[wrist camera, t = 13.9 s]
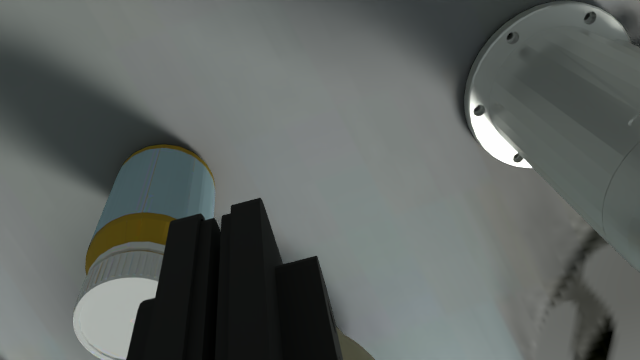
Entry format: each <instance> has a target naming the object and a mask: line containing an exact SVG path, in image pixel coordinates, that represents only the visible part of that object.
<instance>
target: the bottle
mask: <svg viewBox="0 0 640 360" xmlns="http://www.w3.org/2000/svg"><path fill="white" fill-rule="evenodd" d="M214 205H215V183H214V178H213V175H212V173H211V171H210V169H209V168H208V166H207V164H206V163H205V162H204V161H203V160H202V159H201V158H199V157H198V156H197V155H196V154H194V153H193V152H191V151H189V150H186V149H184V148H182V147H179V146H173V145H166V144H161V145H154V146H148V147H145V148H143V149H141V150H139V151H137V152H135V153H133V154H132V155H131V156H130V157H129V158H128V159H127V160H126V161H125V162H124V164H123V165H122V167H121V169H120V171H119V173H118V175H117V177H116V180H115V182H114V185H113V187H112V190H111V192H110V195H109V197H108V200H107V202H106V205H105V207H104V210H103V212H102V215H101V218H100V220H99V223H98V225H97V228H96V230H95V233H94V235H93V238H92V240H91V243H90V245H89V248H88V252H87V255H86V265H85V269H86V275H87V278H86V279H85V281H84V283H83V286H82V289H81V291H80V294H79V297H78V299H77V302H76V304H75V308H74V311H73V312H74V314H73V326H74V330H75V333H76V336H77V338H78V339H79V341H80V342H81V344H82V345H83V346H84V347H85V348H86V349H87V350H88V351H89V352H90V353H92V354H93V355H95V356H96V357H98V358H100V359H102V360H126V358H127V354H128V350H129V345H130V341H131V336H132V332H133V328H134V323H135V319H136V315H137V310H138V308H139V305H140V303H141V302H142V301H144V300H148V299H151V298H155V296H156V291H157V286H158V281H159V275H160V270H161V265H162V260H163V255H164V250H165V245H166V240H167V234H168V229H169V224H170V222H171V221H172V220H176V219H180V218H184V217H188V216H192V215H196V214H200V213H201V214H202V215H203V216H204V218H205V220H207V219H211V218H214Z"/></svg>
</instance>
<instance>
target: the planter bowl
mask: <svg viewBox="0 0 640 360" xmlns="http://www.w3.org/2000/svg"><path fill="white" fill-rule="evenodd" d="M336 329H337V333H338V338H339V343H340V347H341V352H342V356H343V360H375V359H374V358H373V357H372V356H371V355H370V354H369V353H368V352H367V351H366V350H365V349H364V348H363V347H361V346H360V345H359V344H358V343H356V342H355V341H354V340H352V339H350V338H349V337H347V336H345V335H344V334H343V333H342V332H341V331H340V330H339V329H338V328H337V327H336Z"/></svg>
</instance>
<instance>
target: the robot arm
mask: <svg viewBox="0 0 640 360" xmlns="http://www.w3.org/2000/svg"><path fill="white" fill-rule="evenodd" d="M585 15H586V16H585ZM509 33H511V34H510V36H509V37H508V38H507V36H508V34H509ZM476 106H478V107H477V108H476V109H474V108H475V107H476ZM464 107H465V116H466V119H467V123H468V127H469V129H470V130H471V132H472V134H473V136H474V138H475V139H476V140H477V142H478V143H479V144H480V145H481V147H482V148H483V149H484V150H485V151H487V152H488V153H489V154H490V155H491V156H492V157H494V158H495V159H497V160H499V161H501V162H503V163H505V164H508V165H511V166H514V167H522V168H533V169H534V170H535V171H536V172H537V173H538V174H539V175H540V176H541V177H542V178H543V179H544V180H545V181H546V182H547V183H548V184H549V185H550V186H551V187H552V188H553V189H554V190H555V191H556V192H557V193H558V194H559V195H560V196H561V197H562V198H563V199H564V200H565V201H566V202H567V203H568V204H569V205H570V206H571V207H572V208H573V209H574V210H575V211H576V212H577V213H578V214H579V215H580V216H581V217H582V218H583V219H584V220H585V221H586V222H587V223H588V224H589V225H590V226H591V227H592V228H593V229H594V230H595V231H596V232H597V233H598V234H599V235H600V236H601V237H602V238H603V239H604V240H605V241H606V242H607V243H608V244H609V245H610V246H612V248H613V249H614V250H615V251H617V252H618V254H620V255H621V256H622V257H623V258H624V259H625V260H626V261H627V262H628V263H629V264H630V265H631V266H632V267H633V268H635V269H636V270H637V271H638V272H640V47H638V46H636V45H633V44H631V40H630V37H629V36H628V34H627V32H626V31H625V29H624V27H623V26H622V24H621V23H620V22H619V21H617V20H616V19H615V18H614V17H613V16H612V15H611V14H609V13H607V12H606V11H604V10H602V9H600V8H598V7H596V6H593V5H590V4H587V3H583V2H577V1H571V0H567V1H553V2H549V3H545V4H541V5H537V6H535V7H532V8H530V9H528V10H526V11H524V12H521V13H520V14H518V15H517V16H515V17H514V18H512V19H511V20H509V21H508V22H506V23H505V24H504V25H503V26H502V27H501V28H500V29H498V30H497V31H496V32H495V33H494V34H493V35H492V36H491V37H490V39H489V40H488V41H487V42H486V44H485V45H484V46H483V48H482V49H481V50H480V52H479V54H478V56H477V57H476V59H475V61H474V63H473V65H472V67H471V70H470V73H469V76H468V79H467V82H466V88H465V95H464ZM126 360H343V356H342V352H341V347H340V343H339V338H338V333H337V329H336V325H335V320H334V316H333V312H332V308H331V304H330V300H329V296H328V293H327V289H326V285H325V282H324V278H323V275H322V271H321V267H320V264H319V261H318V258H317V256H314V257H310V258H306V259H302V260H298V261H295V262H291V263H287V264H283V263H282V260H281V257H280V253H279V250H278V247H277V244H276V241H275V238H274V235H273V232H272V229H271V225H270V222H269V219H268V216H267V213H266V210H265V207H264V204H263V201H262V199H261V198H258V199H254V200H250V201H246V202H242V203H238V204H234V205H232V206H231V214H227V215H223V216H222V219H221V232H220V229H219V226H218V224H217V222H216V220H215V219H214V218H211V219H207V220H205V218H204V216H203V215H202V214H201V213H200V214H196V215H192V216H188V217H184V218H180V219H176V220H172V221H171V222H170V224H169V229H168V234H167V240H166V245H165V250H164V255H163V260H162V265H161V270H160V275H159V281H158V286H157V291H156V296H155V298H151V299H148V300H144V301H142V302H141V303H140V305H139V308H138V310H137V315H136V319H135V323H134V328H133V332H132V336H131V341H130V345H129V350H128V354H127V358H126Z"/></svg>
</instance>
